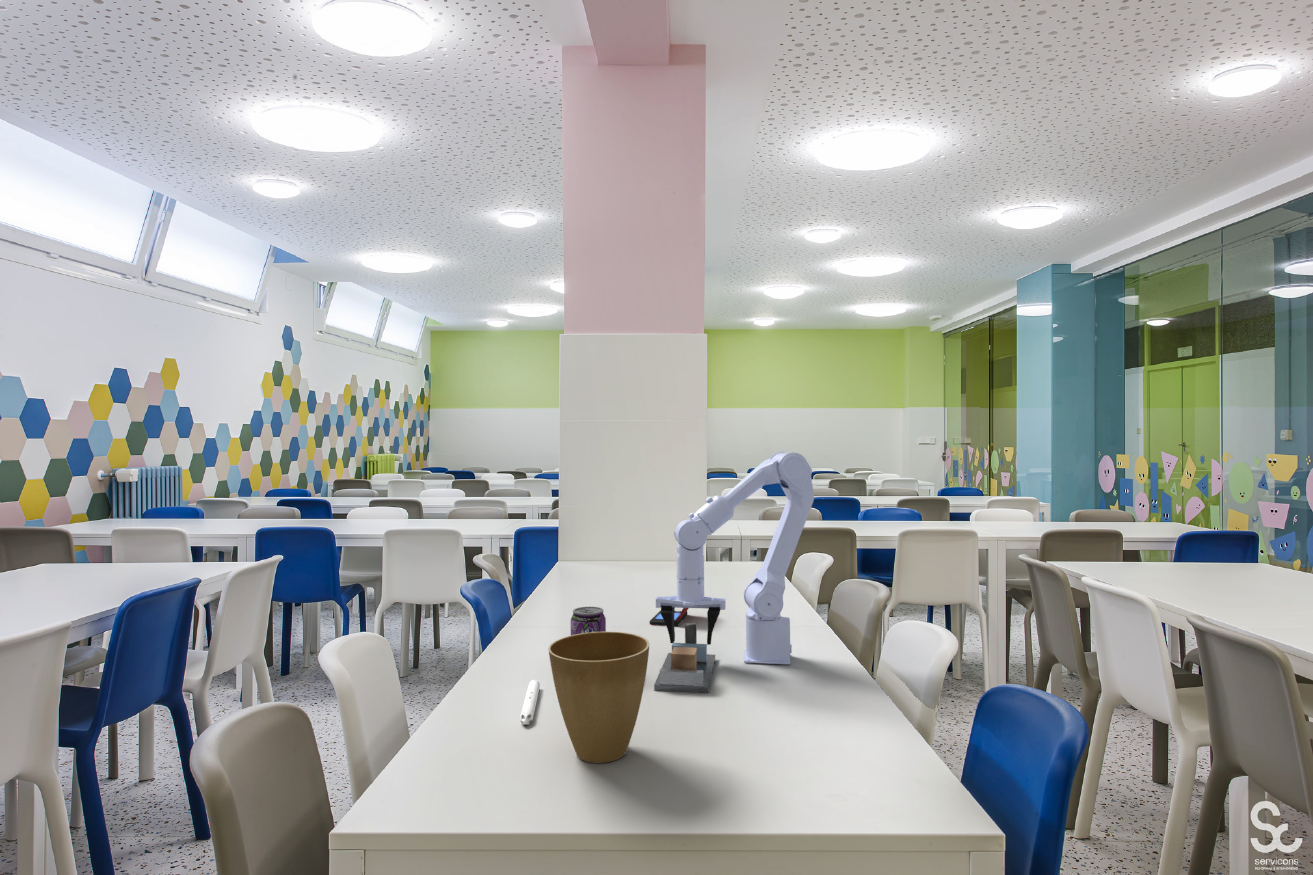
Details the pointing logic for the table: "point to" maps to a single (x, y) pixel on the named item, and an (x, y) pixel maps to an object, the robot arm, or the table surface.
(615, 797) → the table surface
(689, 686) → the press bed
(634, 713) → the plant pot
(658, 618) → the handheld game console
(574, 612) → the beverage can
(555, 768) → the table surface
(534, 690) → the marker
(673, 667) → the brown block
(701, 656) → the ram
